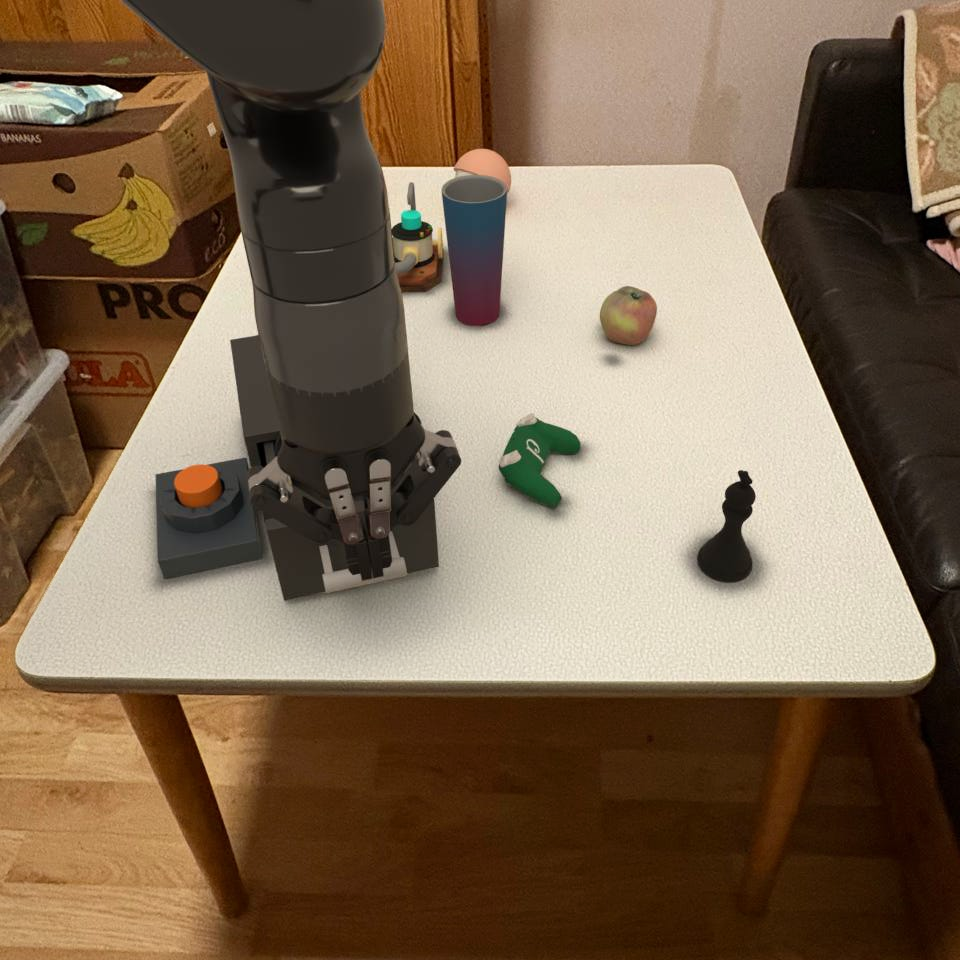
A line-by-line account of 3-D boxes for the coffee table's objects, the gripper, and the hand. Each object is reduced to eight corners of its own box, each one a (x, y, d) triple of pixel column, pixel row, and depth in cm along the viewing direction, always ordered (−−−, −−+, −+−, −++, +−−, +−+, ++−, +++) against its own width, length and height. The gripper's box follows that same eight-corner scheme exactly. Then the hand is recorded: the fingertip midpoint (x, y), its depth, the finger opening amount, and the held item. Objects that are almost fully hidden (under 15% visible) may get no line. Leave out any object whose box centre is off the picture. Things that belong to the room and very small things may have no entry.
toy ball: (441, 209, 124) (438, 152, 119) (478, 190, 128) (477, 134, 123) (486, 226, 120) (486, 168, 115) (523, 205, 124) (523, 148, 119)
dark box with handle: (452, 606, 71) (448, 535, 65) (290, 643, 68) (272, 572, 63) (403, 462, 83) (397, 393, 78) (266, 489, 81) (249, 419, 76)
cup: (440, 304, 106) (433, 179, 96) (496, 294, 107) (495, 170, 97) (457, 334, 101) (451, 207, 91) (515, 324, 102) (516, 196, 92)
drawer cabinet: (419, 492, 82) (411, 406, 75) (265, 523, 79) (243, 437, 73) (386, 398, 92) (377, 315, 86) (249, 423, 90) (229, 339, 83)
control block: (262, 558, 76) (253, 524, 73) (164, 579, 75) (151, 545, 72) (250, 475, 84) (242, 441, 81) (161, 492, 82) (150, 458, 80)
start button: (223, 503, 76) (219, 487, 75) (179, 512, 75) (174, 496, 74) (221, 475, 78) (216, 460, 77) (178, 484, 78) (173, 468, 77)
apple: (597, 359, 97) (601, 311, 93) (597, 319, 103) (601, 272, 99) (654, 362, 96) (661, 313, 92) (651, 321, 102) (657, 274, 98)
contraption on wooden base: (441, 302, 106) (434, 177, 96) (287, 304, 106) (264, 179, 96) (445, 244, 116) (439, 126, 106) (305, 246, 117) (286, 128, 107)
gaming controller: (557, 457, 88) (515, 415, 86) (586, 440, 85) (543, 397, 83) (532, 522, 81) (485, 478, 79) (562, 505, 79) (515, 460, 77)
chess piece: (731, 537, 77) (753, 446, 70) (762, 573, 74) (788, 481, 67) (686, 552, 76) (704, 461, 69) (716, 589, 73) (737, 497, 66)
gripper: (210, 410, 44) (274, 637, 55) (476, 362, 46) (484, 589, 58) (203, 329, 49) (262, 551, 61) (441, 290, 52) (454, 510, 63)
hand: (370, 569), depth 59 cm, fingers closed
